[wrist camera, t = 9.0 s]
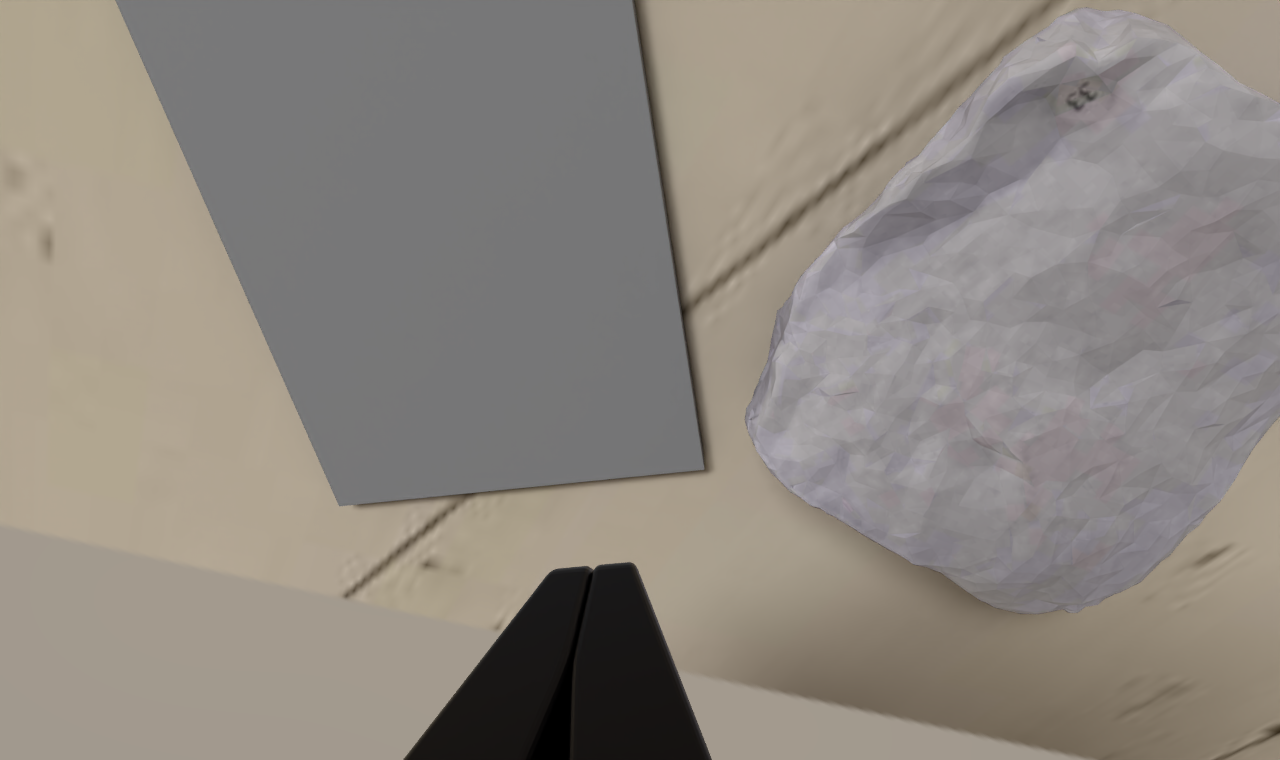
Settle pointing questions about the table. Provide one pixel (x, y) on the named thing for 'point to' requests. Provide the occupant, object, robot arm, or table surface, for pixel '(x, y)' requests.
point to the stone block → (1045, 323)
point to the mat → (441, 231)
